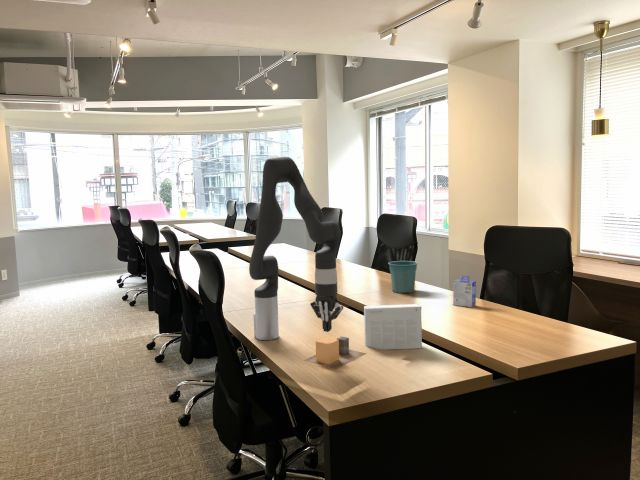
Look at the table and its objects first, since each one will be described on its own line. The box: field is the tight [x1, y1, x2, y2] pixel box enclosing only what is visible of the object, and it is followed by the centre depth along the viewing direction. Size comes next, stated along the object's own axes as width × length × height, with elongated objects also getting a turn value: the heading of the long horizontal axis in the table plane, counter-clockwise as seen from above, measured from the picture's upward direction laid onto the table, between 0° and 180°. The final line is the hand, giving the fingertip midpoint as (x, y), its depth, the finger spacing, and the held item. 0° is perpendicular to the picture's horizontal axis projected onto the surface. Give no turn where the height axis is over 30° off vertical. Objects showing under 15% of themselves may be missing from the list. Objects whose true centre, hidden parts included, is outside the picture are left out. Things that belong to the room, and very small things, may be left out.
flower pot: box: [387, 260, 418, 294], centre depth 284 cm, size 16×16×16 cm
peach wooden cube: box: [315, 336, 339, 364], centre depth 173 cm, size 6×6×7 cm
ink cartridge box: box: [452, 275, 477, 308], centre depth 250 cm, size 10×6×14 cm, turn 53°
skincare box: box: [363, 303, 423, 351], centre depth 190 cm, size 21×5×16 cm, turn 92°
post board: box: [304, 336, 367, 370], centre depth 177 cm, size 14×18×7 cm
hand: (327, 331), depth 173 cm, fingers closed
